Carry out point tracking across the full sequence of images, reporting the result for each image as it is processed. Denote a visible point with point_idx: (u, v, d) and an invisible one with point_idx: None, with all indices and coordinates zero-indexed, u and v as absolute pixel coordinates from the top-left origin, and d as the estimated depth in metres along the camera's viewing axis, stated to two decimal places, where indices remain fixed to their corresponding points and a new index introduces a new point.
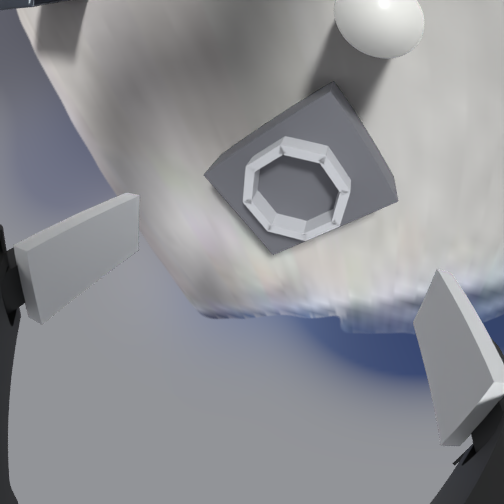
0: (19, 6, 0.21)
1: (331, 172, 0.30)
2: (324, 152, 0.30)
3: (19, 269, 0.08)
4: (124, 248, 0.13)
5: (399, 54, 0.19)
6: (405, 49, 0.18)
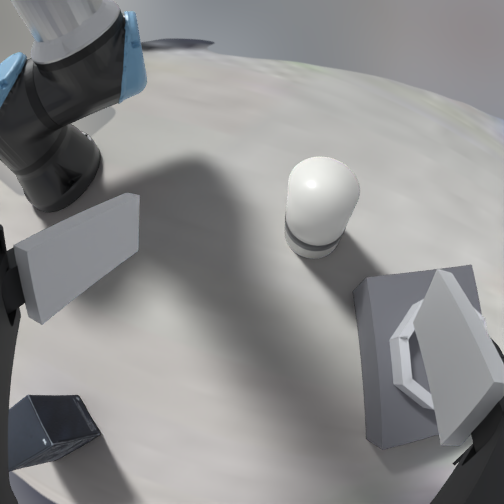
0: (35, 453, 0.22)
1: None
2: (418, 302, 0.28)
3: (19, 269, 0.08)
4: (124, 248, 0.13)
5: (358, 187, 0.29)
6: (355, 182, 0.30)
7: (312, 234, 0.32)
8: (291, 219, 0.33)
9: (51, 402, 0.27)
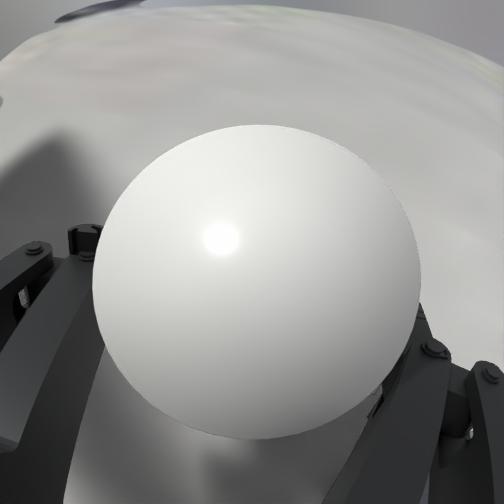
0: None
1: None
2: None
3: None
4: None
5: (413, 264, 0.06)
6: (400, 235, 0.06)
7: None
8: None
9: None
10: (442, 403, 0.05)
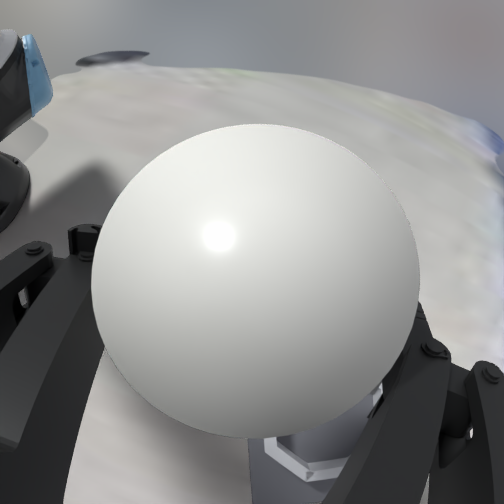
0: None
1: None
2: None
3: None
4: None
5: (412, 263, 0.06)
6: (400, 234, 0.06)
7: None
8: None
9: None
10: (442, 403, 0.05)
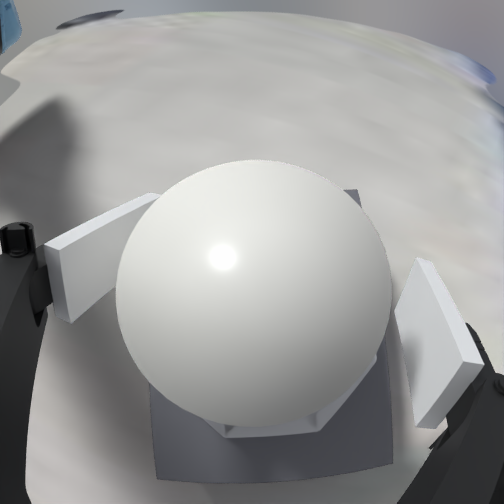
0: None
1: None
2: None
3: (48, 268, 0.08)
4: None
5: (385, 284, 0.07)
6: (376, 259, 0.08)
7: None
8: None
9: None
10: None
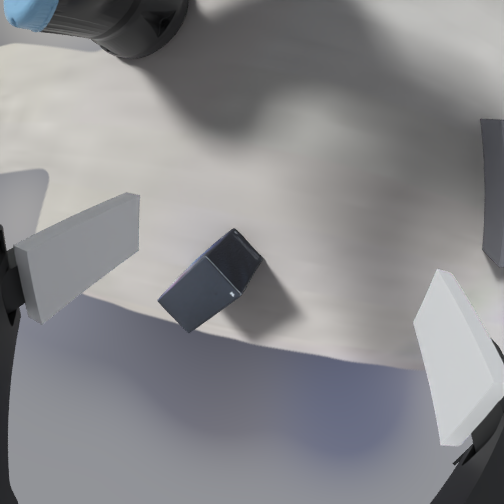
0: (222, 307, 0.37)
1: None
2: None
3: (19, 269, 0.08)
4: (124, 248, 0.13)
5: None
6: None
7: None
8: None
9: (222, 250, 0.39)
10: None
